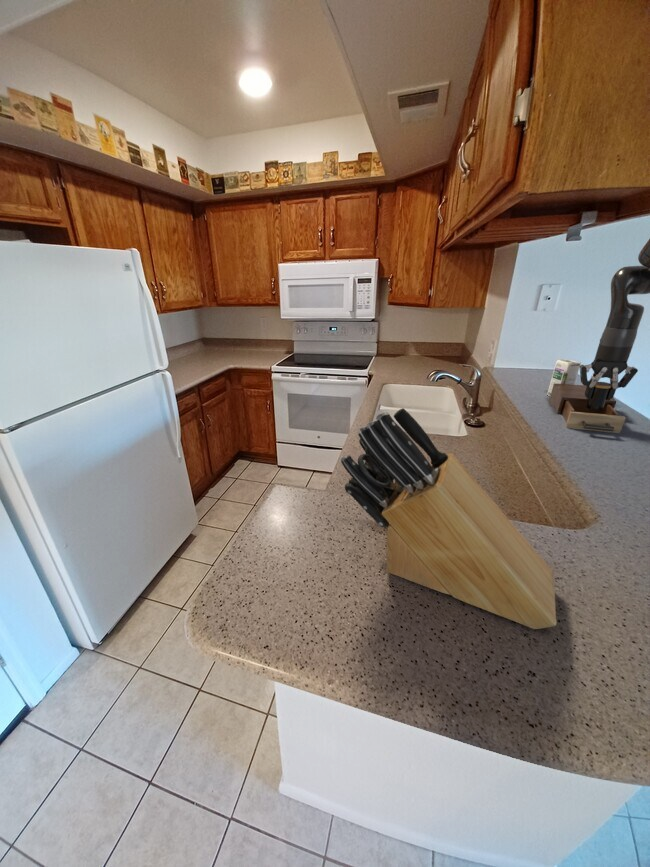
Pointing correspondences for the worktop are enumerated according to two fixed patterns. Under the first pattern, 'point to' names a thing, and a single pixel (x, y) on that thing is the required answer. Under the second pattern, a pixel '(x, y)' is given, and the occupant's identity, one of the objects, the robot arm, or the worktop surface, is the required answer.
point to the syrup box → (564, 373)
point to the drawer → (591, 417)
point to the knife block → (446, 525)
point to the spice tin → (599, 396)
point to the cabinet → (570, 395)
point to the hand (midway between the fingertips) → (597, 398)
